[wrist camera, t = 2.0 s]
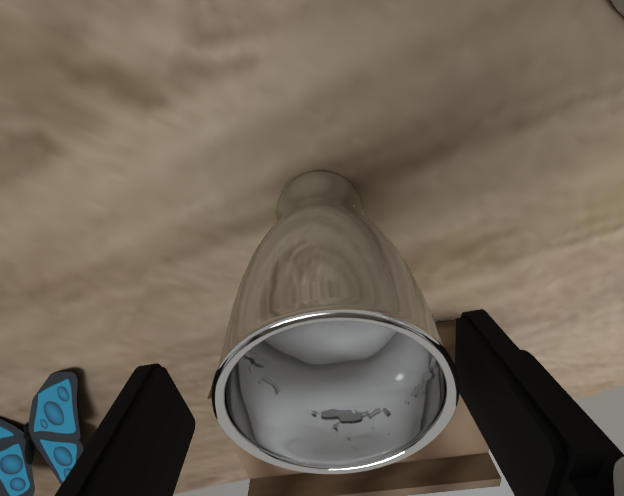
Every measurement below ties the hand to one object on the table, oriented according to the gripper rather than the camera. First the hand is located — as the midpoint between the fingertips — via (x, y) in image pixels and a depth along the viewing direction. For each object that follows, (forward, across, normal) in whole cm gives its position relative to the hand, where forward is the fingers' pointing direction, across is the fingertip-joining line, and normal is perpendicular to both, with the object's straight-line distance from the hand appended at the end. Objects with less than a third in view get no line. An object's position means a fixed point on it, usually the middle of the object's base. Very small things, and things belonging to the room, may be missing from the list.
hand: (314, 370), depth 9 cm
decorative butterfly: (+15, +34, +18) cm, 41 cm away
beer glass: (+14, -1, -1) cm, 14 cm away
